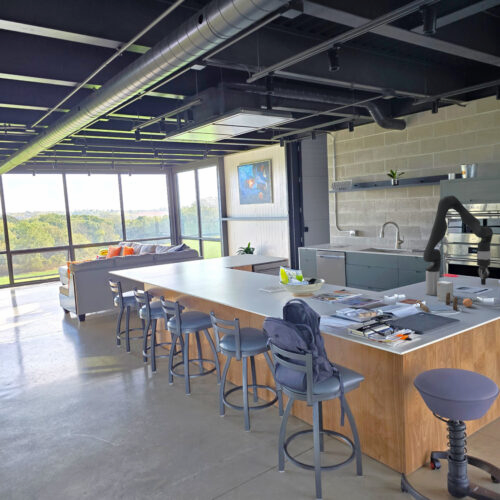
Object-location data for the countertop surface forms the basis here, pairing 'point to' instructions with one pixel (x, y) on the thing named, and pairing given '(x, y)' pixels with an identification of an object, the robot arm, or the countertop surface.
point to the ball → (467, 302)
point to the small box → (444, 290)
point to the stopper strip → (423, 306)
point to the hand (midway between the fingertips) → (483, 284)
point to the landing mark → (437, 307)
